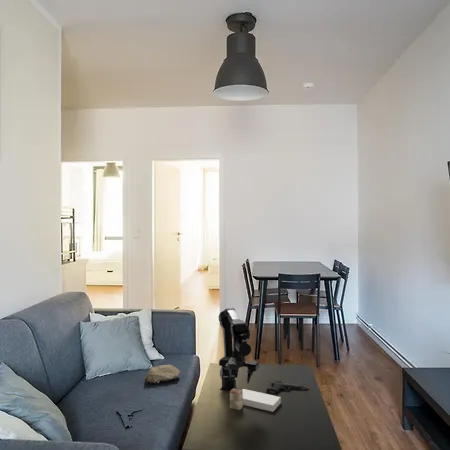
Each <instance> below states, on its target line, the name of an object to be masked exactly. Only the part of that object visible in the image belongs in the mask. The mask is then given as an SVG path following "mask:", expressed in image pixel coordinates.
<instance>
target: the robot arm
mask: <svg viewBox="0 0 450 450" xmlns="http://www.w3.org/2000/svg"><path fill="white" fill-rule="evenodd" d="M218 322H219V325H220V327H221V328H222V330H223V332H222V333H223V352H224V353H223V354H224V356H223V357H221V358H220V359H219V361H218V365H219V366H220V369H219V377H220V379H221V387H220V389H219V390H222V391H227V392H230V391H231V390H232V389H233V388H234V389H237V380H236V378H238V375H239V369H240V368H243V367H244V368H247V370H246V372H247V373H246V374H247V378H246V379H247V380H246V381H247V384H250V381H251V380H252V379H251V378H252V376H253V374H254V372H256V371H258V370H259V369H260V362H259V361H256V360H251V361H250V362H246V361H247V357H246V356H249V354H251V352H252V346H251V345H250V344H249V343H248V340H249V339H250V338H251V336H250V335H251V333H250V328H249V325H248V324H247V322H245V320H242V319H241V318H240V317H239V316H238V314H237V312H236V309H235V308H234V307H230V308H229V307H228V308H225V309H224V310H222V311H221V312H220V313H219V315H218Z"/></svg>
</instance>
